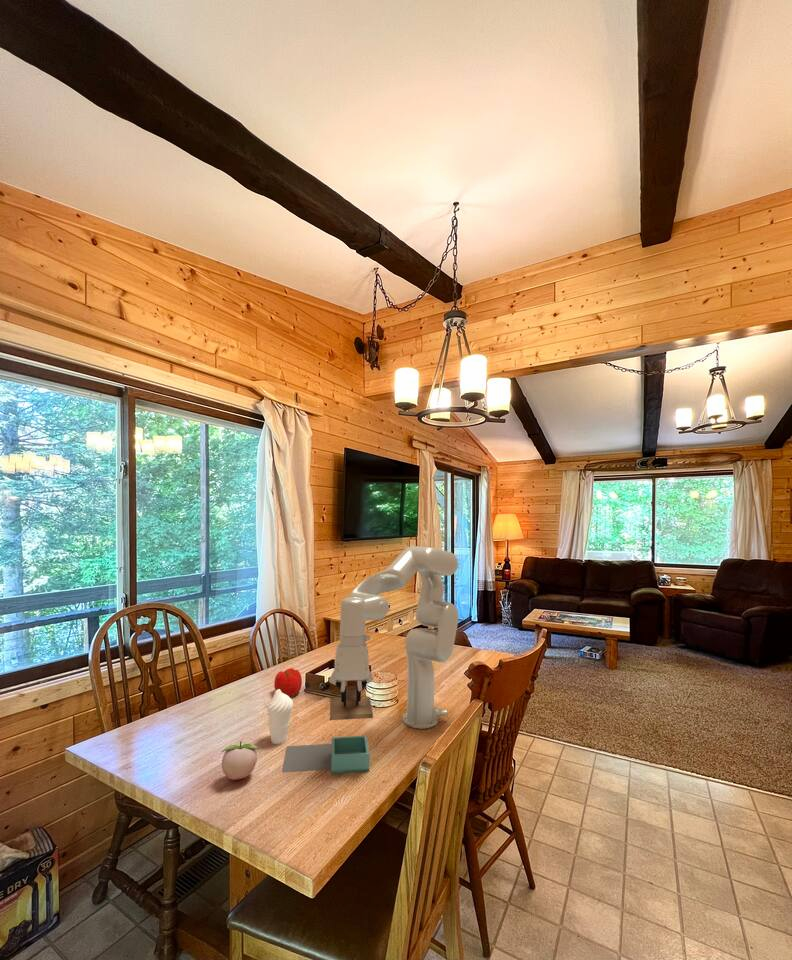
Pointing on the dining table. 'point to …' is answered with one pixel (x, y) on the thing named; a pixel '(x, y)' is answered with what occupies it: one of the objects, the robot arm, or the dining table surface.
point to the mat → (307, 758)
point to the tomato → (288, 681)
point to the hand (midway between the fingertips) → (350, 703)
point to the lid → (350, 706)
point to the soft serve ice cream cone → (279, 716)
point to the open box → (349, 754)
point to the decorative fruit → (239, 760)
